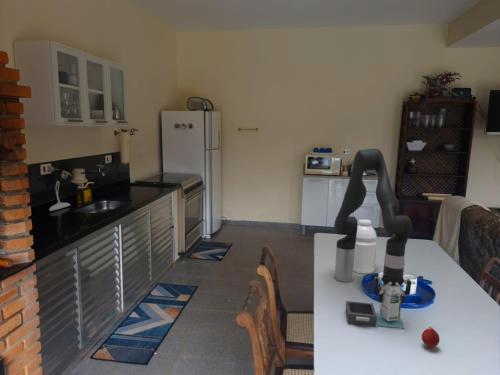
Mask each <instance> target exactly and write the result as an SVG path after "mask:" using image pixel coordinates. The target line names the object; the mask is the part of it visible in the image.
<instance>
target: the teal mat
mask: <svg viewBox="0 0 500 375" xmlns="http://www.w3.org/2000/svg"><path fill="white" fill-rule="evenodd" d="M376 315H377V323H376V324H377V326H378V328H379V327H381V328H387V329H388V328H389V329H391V328H392V329H398V330H399V329H401V330H405V329H406V328H405V325H404V323H403V320H402V319H401V317H400V319H399V320H392V321H387V320H386V319H384V318H383V317H382V316H381V315H380V312H376Z"/></svg>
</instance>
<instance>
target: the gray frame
mask: <svg viewBox="0 0 500 375" xmlns="http://www.w3.org/2000/svg"><path fill="white" fill-rule="evenodd" d="M374 306H375V305H374V304H373V302H372V303H370V302H360V301H350V300H349V301H348V300H346V301H345V311H344V312H345V315H346V320H347V324H348V325H352V326H364V327H371V328H372V327H374V328H377V324H378V323H377V315H376V313H377V312H376V310H375V307H374Z"/></svg>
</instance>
